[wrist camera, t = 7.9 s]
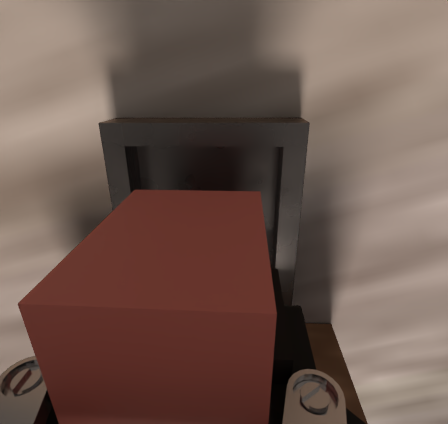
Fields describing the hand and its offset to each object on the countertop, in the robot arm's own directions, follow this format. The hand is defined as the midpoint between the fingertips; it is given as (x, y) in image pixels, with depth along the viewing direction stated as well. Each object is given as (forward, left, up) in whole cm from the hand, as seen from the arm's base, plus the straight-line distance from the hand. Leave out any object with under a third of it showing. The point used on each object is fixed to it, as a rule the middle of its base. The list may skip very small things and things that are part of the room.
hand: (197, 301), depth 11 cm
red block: (0, 0, -1) cm, 1 cm away
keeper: (0, 0, -6) cm, 6 cm away
